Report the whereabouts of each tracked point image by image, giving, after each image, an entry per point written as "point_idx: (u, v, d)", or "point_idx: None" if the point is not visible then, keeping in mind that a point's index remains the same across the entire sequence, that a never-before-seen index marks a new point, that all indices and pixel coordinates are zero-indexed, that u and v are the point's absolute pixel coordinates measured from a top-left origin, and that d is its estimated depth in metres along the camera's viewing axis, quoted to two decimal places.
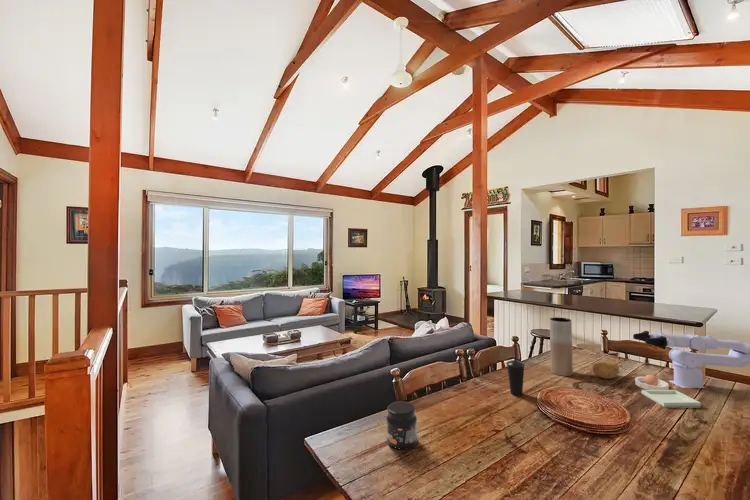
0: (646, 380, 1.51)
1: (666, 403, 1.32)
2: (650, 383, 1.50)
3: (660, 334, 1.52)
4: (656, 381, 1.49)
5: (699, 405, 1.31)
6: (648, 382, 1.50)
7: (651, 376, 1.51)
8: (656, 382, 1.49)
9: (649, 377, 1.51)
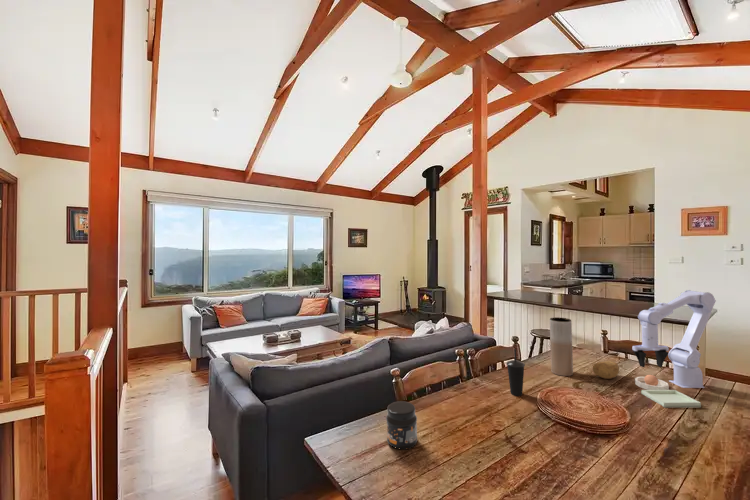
0: (646, 380, 1.51)
1: (666, 403, 1.32)
2: (650, 383, 1.50)
3: (656, 349, 1.49)
4: (656, 381, 1.49)
5: (699, 405, 1.31)
6: (648, 382, 1.50)
7: (651, 376, 1.51)
8: (656, 382, 1.49)
9: (649, 377, 1.51)
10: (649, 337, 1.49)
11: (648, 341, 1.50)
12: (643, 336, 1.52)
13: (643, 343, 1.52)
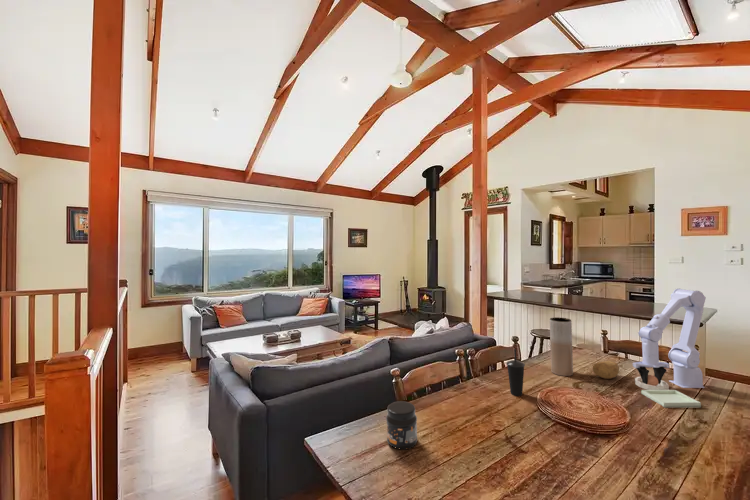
0: None
1: (666, 403, 1.32)
2: (650, 383, 1.50)
3: None
4: (657, 381, 1.49)
5: (699, 405, 1.31)
6: (648, 382, 1.50)
7: (651, 376, 1.51)
8: (656, 382, 1.49)
9: (649, 377, 1.51)
10: (649, 354, 1.49)
11: (648, 358, 1.50)
12: (643, 353, 1.52)
13: (643, 359, 1.52)
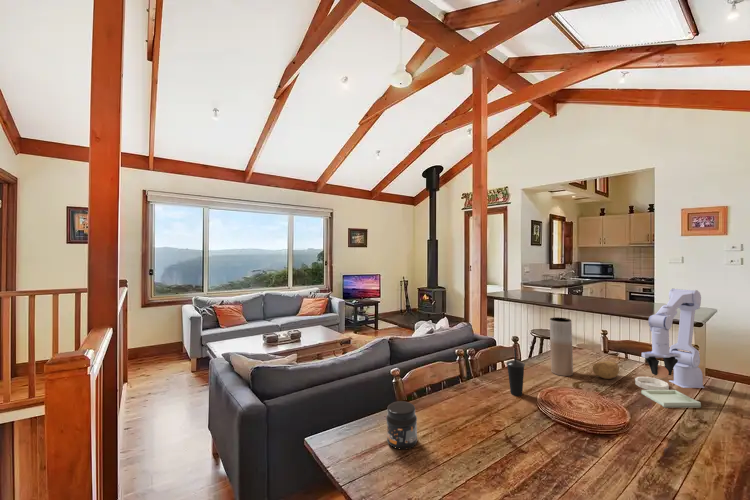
0: None
1: (666, 403, 1.32)
2: (660, 374, 1.42)
3: (667, 356, 1.40)
4: (667, 372, 1.41)
5: (699, 405, 1.31)
6: (657, 373, 1.42)
7: (661, 367, 1.42)
8: (666, 373, 1.41)
9: (658, 368, 1.42)
10: (663, 344, 1.40)
11: (658, 347, 1.41)
12: (653, 342, 1.43)
13: (653, 349, 1.44)
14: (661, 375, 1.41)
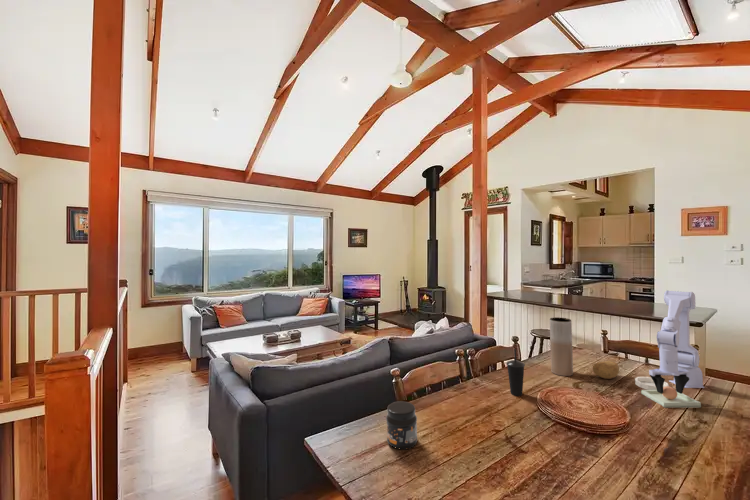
0: (663, 392, 1.38)
1: (666, 403, 1.32)
2: (668, 395, 1.36)
3: None
4: (675, 393, 1.35)
5: (699, 405, 1.31)
6: (666, 394, 1.37)
7: (669, 388, 1.37)
8: (674, 395, 1.35)
9: (666, 389, 1.37)
10: (673, 361, 1.35)
11: (667, 365, 1.36)
12: (661, 359, 1.38)
13: (661, 366, 1.38)
14: (669, 397, 1.36)
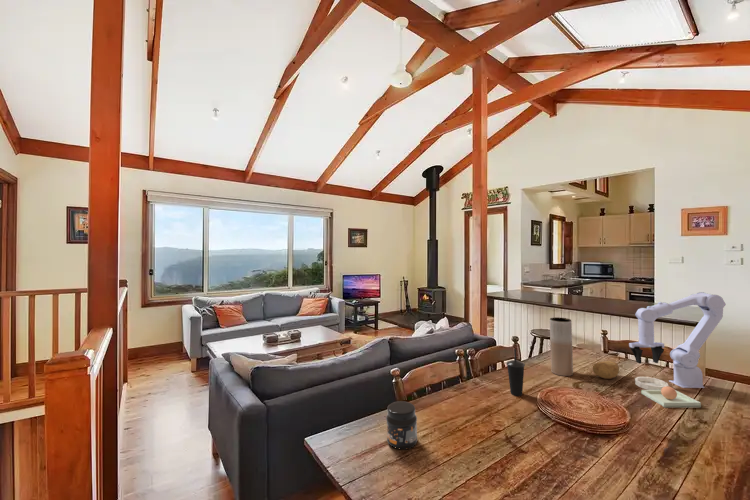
0: (663, 393, 1.38)
1: (666, 403, 1.32)
2: (668, 396, 1.36)
3: None
4: (675, 393, 1.35)
5: (699, 405, 1.31)
6: (665, 395, 1.37)
7: (668, 388, 1.37)
8: (674, 395, 1.35)
9: (666, 390, 1.37)
10: (643, 334, 1.55)
11: (644, 338, 1.54)
12: (640, 333, 1.56)
13: (639, 339, 1.57)
14: (669, 397, 1.36)
